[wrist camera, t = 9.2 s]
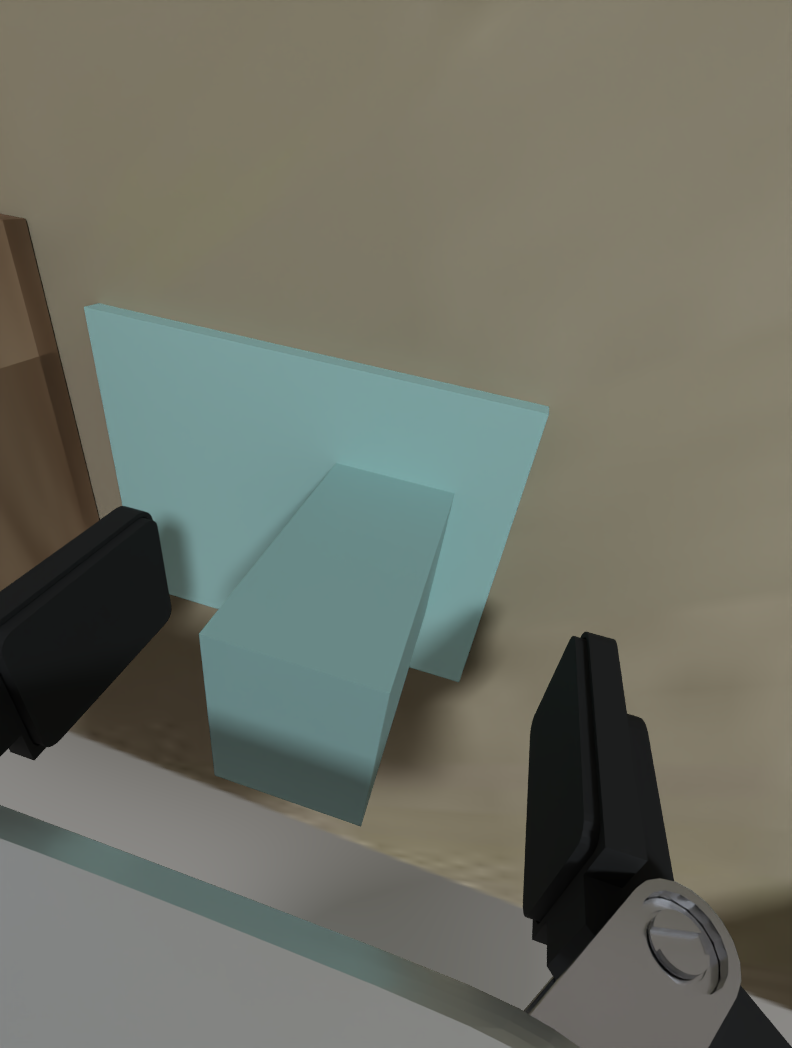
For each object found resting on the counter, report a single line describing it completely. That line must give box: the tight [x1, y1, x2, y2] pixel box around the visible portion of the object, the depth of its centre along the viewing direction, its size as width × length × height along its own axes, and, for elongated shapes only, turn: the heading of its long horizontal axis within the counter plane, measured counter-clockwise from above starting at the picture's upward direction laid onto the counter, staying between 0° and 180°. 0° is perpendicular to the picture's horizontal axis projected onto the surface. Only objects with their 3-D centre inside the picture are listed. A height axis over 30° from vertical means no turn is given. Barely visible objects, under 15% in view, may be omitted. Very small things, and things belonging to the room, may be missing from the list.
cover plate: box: [84, 303, 549, 826], centre depth 12 cm, size 11×9×7 cm
